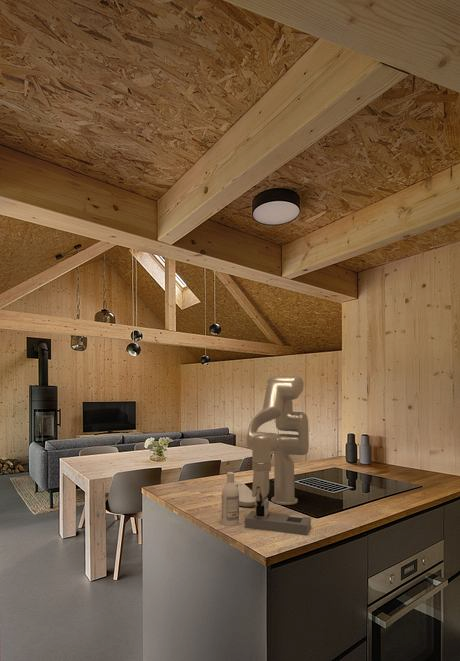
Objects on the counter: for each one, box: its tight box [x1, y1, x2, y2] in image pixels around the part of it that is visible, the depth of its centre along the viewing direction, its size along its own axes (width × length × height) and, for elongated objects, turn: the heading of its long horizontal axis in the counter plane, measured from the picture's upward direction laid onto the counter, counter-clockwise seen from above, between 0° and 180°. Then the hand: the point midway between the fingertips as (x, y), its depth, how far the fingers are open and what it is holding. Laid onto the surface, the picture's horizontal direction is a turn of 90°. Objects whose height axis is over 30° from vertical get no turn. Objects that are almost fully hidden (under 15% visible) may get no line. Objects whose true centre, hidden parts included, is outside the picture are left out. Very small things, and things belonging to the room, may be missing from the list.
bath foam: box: [221, 471, 240, 527], centre depth 167 cm, size 7×7×20 cm
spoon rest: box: [236, 483, 256, 508], centre depth 198 cm, size 24×12×7 cm, turn 12°
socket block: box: [244, 510, 312, 536], centre depth 161 cm, size 10×24×4 cm, turn 71°
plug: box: [256, 497, 270, 519], centre depth 164 cm, size 4×5×10 cm
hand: (261, 513), depth 164 cm, fingers closed on plug, 4 cm apart
